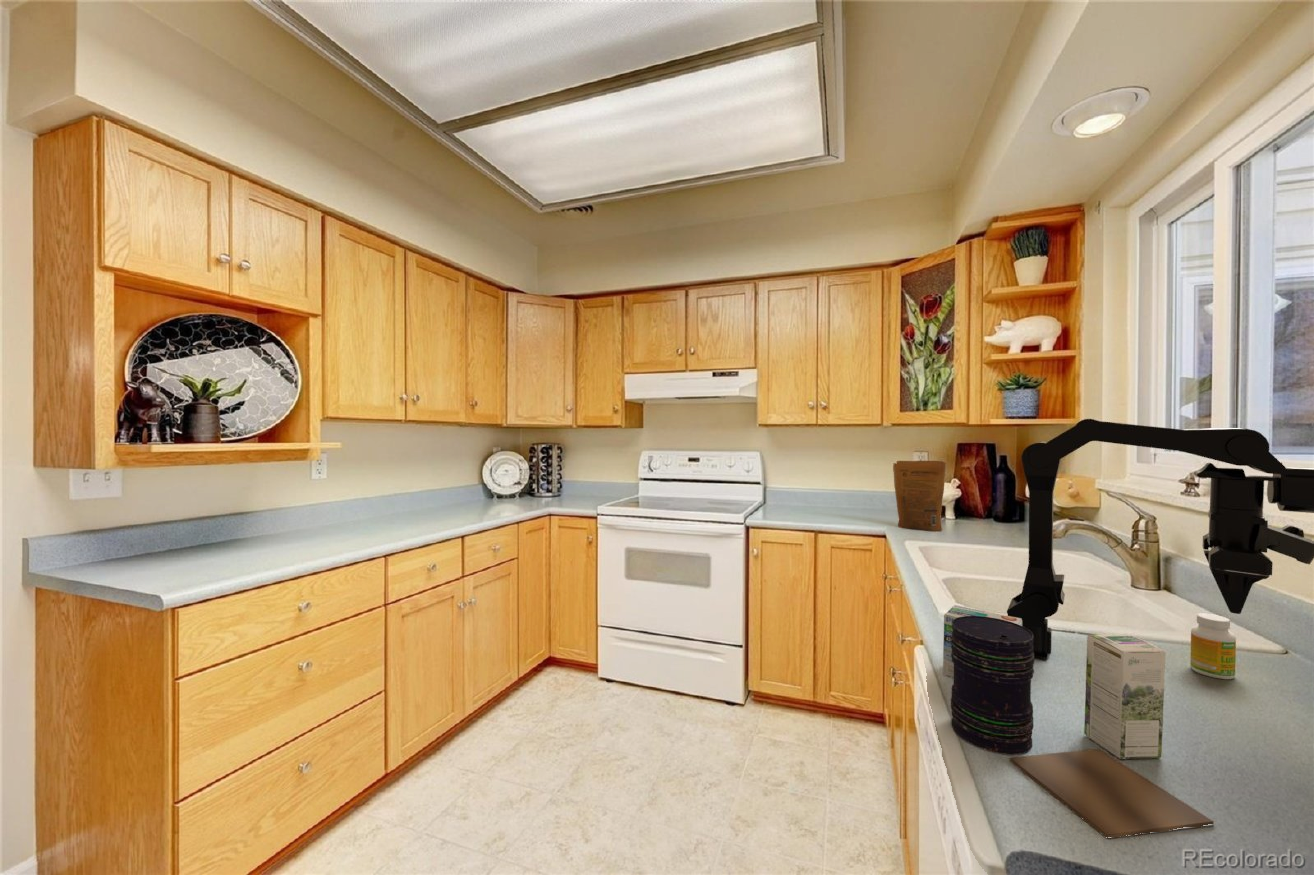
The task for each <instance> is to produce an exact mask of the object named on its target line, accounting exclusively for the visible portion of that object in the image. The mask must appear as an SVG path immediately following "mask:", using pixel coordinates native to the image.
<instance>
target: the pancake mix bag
mask: <svg viewBox="0 0 1314 875" xmlns="http://www.w3.org/2000/svg"><path fill="white" fill-rule="evenodd" d="M946 469H947V462H945V461H943V460H942V461H941V460H897V461H896V463H895V462H894V463H893V466H892V471H893V484H894V485H893V487H894V494H895V500H896V510H897V516H898V524H897V527H899V528H901V529H906V530H919V531H927V532H942V531H943V526H942V519H941V517H942V511H943V498H944V497H943V496H944V492H945V478H946V474H947V473H946V472H947V470H946Z"/></svg>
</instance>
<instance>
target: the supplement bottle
mask: <svg viewBox="0 0 1314 875" xmlns="http://www.w3.org/2000/svg"><path fill="white" fill-rule="evenodd" d="M1196 623H1197V624H1196V625H1194V626H1192V627H1191V630H1190V657H1189V658H1190V659H1189V661H1190V662H1189V663H1190V666H1189V667H1190V668H1191V670H1193V672H1196V673H1198V674H1200V675H1203V676H1206V677H1210V678H1214V679H1220V680H1232V679H1234V678H1235V677H1236V657H1237V654H1236V653H1237V651H1236V649H1237V638H1236V635H1235V634H1234V633H1233V632H1231V631H1230V629H1231V620H1230V619H1229V618H1227V617H1225V616H1221V615H1218V614H1214V613H1213V614H1211V613H1205V612H1204V613H1203V612H1202V613H1200V612H1199V613H1197V614H1196Z"/></svg>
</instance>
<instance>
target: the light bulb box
mask: <svg viewBox="0 0 1314 875" xmlns="http://www.w3.org/2000/svg"><path fill="white" fill-rule="evenodd" d="M963 616H983V617H991V618H997V619H1001V620H1005V621H1009V622H1012V623H1015V624H1018V625H1020V626H1022V619H1021V618H1016V617H1011V616H1007V615H1006V614H1001V613H1000V614H999V613H995V612H990V611H986V610H980V609H976V608H971V607H967V606H961V605H956V604H953V606H952V607H951V608H949V610H948V611H947V612H945V613H944V615H943V642H942V643H943V650H942V651H943V652H942V654H943V655H942V656H943V657H942V675H943V676H946V677H947V676H948V677H951V678H954V663H953V662H952V657H951V653H952V648H951V639H952V631H953V629H952V621H953V620H954V619H956V618H958V617H963Z"/></svg>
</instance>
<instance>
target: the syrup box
mask: <svg viewBox="0 0 1314 875" xmlns="http://www.w3.org/2000/svg"><path fill="white" fill-rule="evenodd" d="M1086 636H1087V637H1086V638H1087V639H1086V666H1085V667H1086V670H1085V692H1084V693H1085V698H1084V700H1085V702H1084V705H1085V706H1084V727H1083V733H1084V735H1085V736H1086V737H1087V738H1089V739H1090V740H1092V741H1093V742H1094V743H1096V744H1097V745H1098V746H1100V747H1102V748H1103V749H1104V750H1106V751H1107V752H1109V753H1111V754H1112V755H1113V756H1115V757H1116V758H1117V759H1119V760H1135V759H1136V760H1139V759H1144V760H1145V759H1161V758H1162V753H1163V752H1162V751H1163V724H1164V722H1163V721H1164V704H1165V701H1164V700H1165V673H1166V671H1165V670H1166V652H1165V650H1163V649H1161V648H1160V647H1158V646H1156V645H1154V644H1152V643H1150V642H1148V641H1147V640H1144V639H1142V638H1139V637H1137V636H1134V635H1132V634H1128V633H1110V634H1109V633H1108V634H1107V633H1103V634H1087V635H1086Z"/></svg>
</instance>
